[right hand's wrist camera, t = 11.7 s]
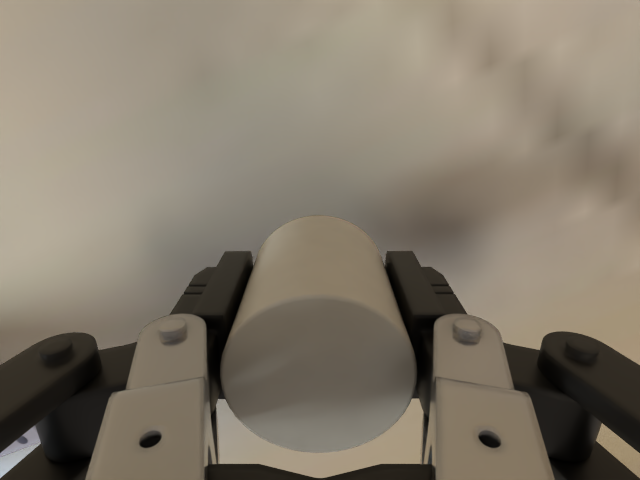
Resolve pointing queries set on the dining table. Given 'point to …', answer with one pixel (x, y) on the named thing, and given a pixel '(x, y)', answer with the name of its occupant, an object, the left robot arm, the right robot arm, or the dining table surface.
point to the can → (318, 341)
